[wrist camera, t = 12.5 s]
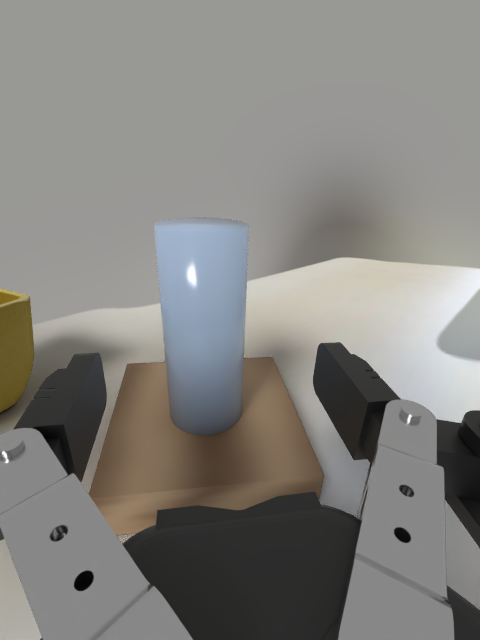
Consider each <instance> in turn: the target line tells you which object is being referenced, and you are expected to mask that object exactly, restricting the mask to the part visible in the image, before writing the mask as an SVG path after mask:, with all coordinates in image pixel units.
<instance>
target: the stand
mask: <svg viewBox="0 0 480 640" xmlns="http://www.w3.org/2000/svg"><path fill="white" fill-rule="evenodd" d="M323 477H324V474H323V472H322V469H321V467H320V465H319V462H318V460H317V458H316V456H315V453H314V451H313V449H312V446H311V444H310V442H309V440H308V437H307V435H306V433H305V430H304V428H303V426H302V424H301V421H300V419H299V417H298V414H297V412H296V410H295V408H294V405H293V403H292V401H291V398H290V396H289V394H288V392H287V389H286V387H285V385H284V382H283V380H282V378H281V376H280V373H279V371H278V369H277V366H276V364H275V362H274V360H273V357H263V358H244V372H243V400H242V414H241V417H240V419H239V420H238V422H237V423H236V424H235V425H234V426H232V427H231V428H229V429H228V430H226V431H224V432H221V433H218V434H213V435H194V434H190V433H187V432H185V431H183V430H181V429H179V428H178V427H177V426H176V425H175V424H174V423H173V422H172V420H171V418H170V411H169V399H168V386H167V374H166V362H156V363H134V364H127V367H126V370H125V374H124V377H123V381H122V384H121V387H120V391H119V394H118V397H117V401H116V404H115V408H114V411H113V414H112V418H111V421H110V425H109V428H108V431H107V435H106V438H105V442H104V445H103V448H102V452H101V455H100V459H99V462H98V465H97V469H96V472H95V476H94V479H93V482H92V486H91V489H90V492H89V496H90V497H91V499H92V500H93V502H94V503H95V505H96V506H97V508H98V509H99V510H100V512H101V513H102V515H103V516H104V518H105V519H106V521H107V522H108V524H109V525H110V527H111V528H112V530H113V531H114V533H115V534H116V535H124V534H133V533H138V532H140V531H142V530H144V529H146V528H148V527H150V526H153V525H155V524H156V517H157V510H162V509H170V508H179V507H187V506H196V505H200V506H208V507H216V508H224V509H231V510H243V509H246V508H249V507H251V506H254V505H256V504H259V503H262V502H264V501H267V500H269V499H272V498H274V497H277V496H281V495H290V494H299V493H307V492H316V494H317V497H318V499H319V497H320V492H321V487H322V482H323Z"/></svg>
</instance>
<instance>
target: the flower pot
mask: <svg viewBox="0 0 480 640" xmlns="http://www.w3.org/2000/svg"><path fill="white" fill-rule="evenodd" d="M33 359H34V343H33V329H32V318H31V306H30V296H28V295H25V294H21V293H17V292H13V291H9V290H4V289H0V412H2V411H4V410H6V409H7V408H9V407H11V406H12V405H14V404H15V403H17V401H18V400H19V398H20V397H21V395H22V393H23V391H24V389H25V387H26V385H27V383H28V380H29V377H30V374H31V371H32V367H33Z"/></svg>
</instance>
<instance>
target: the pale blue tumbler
mask: <svg viewBox="0 0 480 640" xmlns="http://www.w3.org/2000/svg"><path fill="white" fill-rule="evenodd" d="M154 229H155V241H156V254H157V264H158V265H157V266H158V277H159V290H160V302H161V314H162V326H163V338H164V350H165V362H166V374H167V386H168V399H169V411H170V418H171V420H172V422H173V423H174V424H175V425H176V426H177V427H178V428H179V429H181V430H183V431H185V432H187V433H190V434H194V435H213V434H218V433H221V432H224V431H226V430H228V429H229V428H231V427H232V426H234V425H235V424H236V423H237V422H238V420H239V419H240V417H241V414H242V400H243V372H244V345H245V317H246V289H247V260H248V233H249V225H248V224H247V223H244V222H241V221H237V220H230V219H222V218H177V219H168V220H163V221H159V222H157V223H155V224H154Z"/></svg>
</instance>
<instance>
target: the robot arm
mask: <svg viewBox="0 0 480 640" xmlns="http://www.w3.org/2000/svg"><path fill="white" fill-rule="evenodd" d="M313 385H314V390H315V393H316V395H317V396H318V398H319V400H320V402H321V403H322V405H323V407H324V409H325V410H326V412H327V414H328V416H329V417H330V419H331V421H332V423H333V424H334V426H335V428H336V430H337V431H338V433H339V435H340V437H341V438H342V440H343V442H344V444H345V445H346V447H347V449H348V451H349V452H350V454H351V456H352V458H353V459H354V460H360V459H368V460H369V462H370V466H369V469H368V473H367V477H366V482H365V486H364V490H363V495H362V499H361V503H360V507H359V512H358V516H357V518H356V517H354V516H353V515H351V514H349V513H346V512H344V511H342V510H339V509H337V508H334V507H330V506H326V505H321V504H320V502H319V499H318V497H317V494H316V492H307V493H299V494H290V495H281V496H277V497H274V498H272V499H269V500H267V501H264V502H262V503H259V504H256V505H254V506H251V507H249V508H246V509H243V510H231V509H224V508H216V507H208V506H200V505H196V506H187V507H179V508H170V509H162V510H157V517H156V524H155V525H153V526H150V527H148V528H146V529H144V530H142V531H140V532H138V533H137V534H135V535H134V536H132V537H131V538H129V539H128V540H127V541H125V542H124V543H123V544H122V543H121V542H120V540H119V539H118V537H117V536H116V534H115V533H114V531H113V530H112V528H111V527H110V525H109V524H108V522H107V521H106V519H105V518H104V516H103V515H102V513H101V512H100V510H99V509H98V508H97V506H96V505H95V503H94V502H93V500H92V499H91V497H90V496H89V494H88V493H87V491H86V490H85V488H84V487H83V485H82V484H81V481H82V478H83V475H84V472H85V469H86V466H87V463H88V460H89V457H90V454H91V450H92V447H93V444H94V441H95V438H96V435H97V432H98V429H99V426H100V423H101V419H102V416H103V413H104V410H105V407H106V399H107V392H106V385H105V379H104V373H103V367H102V361H101V357H100V354H99V353H87V354H75V355H74V356H73V358H72V360H71V361H70V363H69V365H68V367H67V368H66V369H58V370H57V371H55V372H54V373H53V374H51V375H50V376H49V377H47V378H46V379H45V381H44V382H43V384H42V386H41V387H40V389H39V391H38V392H37V393H36V395H35V396H34V400H32V401H31V403H30V404H29V406H28V407H27V409H26V411H25V412H24V414H23V415H22V417H21V418H20V420H19V421H18V423H17V425H16V426H15V428H14V429H13V430H11V431H8V432H5V433H3V434H1V435H0V540H2V539H5V541H6V544H7V546H8V549H9V552H10V554H11V557H12V560H13V562H14V565H15V567H16V570H17V573H18V575H19V578H20V581H21V583H22V586H23V588H24V591H25V594H26V596H27V599H28V602H29V604H30V607H31V609H32V612H33V615H34V617H35V620H36V623H37V625H38V628H39V630H40V633H41V636H42V638H41V639H40V640H480V610H479V609H478V608H476V607H475V606H474V605H472V604H471V603H470V602H468V601H467V600H466V599H464V598H463V597H462V596H460V595H459V594H458V593H456V592H455V591H454V590H452V589H451V588H450V587H449V586H447V585H446V539H445V500H446V501H447V503H448V504H449V505H450V507H451V508H452V510H453V511H454V512H455V514H456V515H457V517H458V518H459V519H460V521H461V522H462V524H463V525H464V527H465V528H466V529H467V531H468V532H469V534H470V535H471V536H472V538H473V539H474V541H475V542H476V543H477V545H478V546H479V548H480V411H469V412H467V413H466V414H465V415H464V418H463V420H462V422H461V423H455V422H449V421H442V420H436V418H435V416H434V415H433V414H432V413H431V412H430V411H429V410H428V409H426V408H425V407H423V406H422V405H420V404H417V403H415V402H412V401H408V400H401V399H400V398H399V397H398V396H397V395H396V394H395V393H394V391H393V390H392V389H391V388H390V387H389V386H388V385H387V384H386V383H385V382H384V381H383V379H382V378H380V376H379V375H378V374H377V373H376V372H375V371H373V368H372V367H371V366H370V365H369V364H368V363H367V362H366V361H365V360H363V359H361V358H360V357H358V356H356V355H355V354H350V353H349V351H348V350H347V349H346V348H345V347H344V346H343V345H342V344H341V343H340V342H336V343H321V344H319V346H318V350H317V357H316V363H315V370H314V376H313Z"/></svg>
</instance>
